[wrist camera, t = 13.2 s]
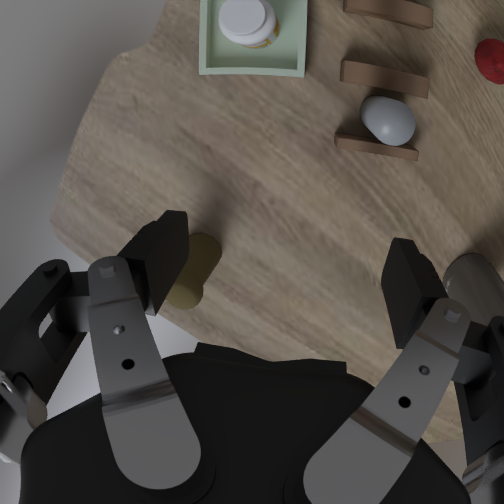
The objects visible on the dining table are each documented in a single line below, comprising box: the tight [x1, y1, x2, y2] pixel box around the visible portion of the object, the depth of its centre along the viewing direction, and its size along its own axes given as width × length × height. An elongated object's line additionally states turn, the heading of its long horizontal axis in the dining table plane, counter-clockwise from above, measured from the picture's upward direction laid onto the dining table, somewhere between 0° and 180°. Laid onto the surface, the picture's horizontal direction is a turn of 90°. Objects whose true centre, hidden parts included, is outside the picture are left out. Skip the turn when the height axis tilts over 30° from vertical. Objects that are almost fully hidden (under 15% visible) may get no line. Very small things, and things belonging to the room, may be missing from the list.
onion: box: [475, 39, 504, 84], centre depth 21 cm, size 6×6×8 cm
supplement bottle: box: [218, 0, 280, 49], centre depth 24 cm, size 5×5×10 cm
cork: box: [165, 233, 222, 309], centre depth 42 cm, size 6×6×11 cm
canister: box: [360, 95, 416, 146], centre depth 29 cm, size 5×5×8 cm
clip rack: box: [334, 0, 433, 161], centre depth 26 cm, size 10×27×3 cm, turn 179°
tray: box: [199, 0, 307, 77], centre depth 28 cm, size 12×12×2 cm
